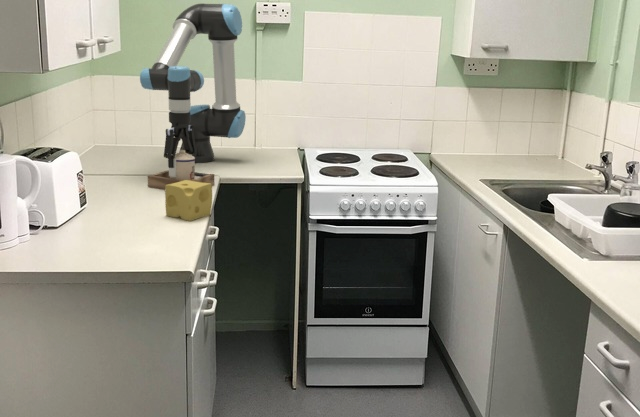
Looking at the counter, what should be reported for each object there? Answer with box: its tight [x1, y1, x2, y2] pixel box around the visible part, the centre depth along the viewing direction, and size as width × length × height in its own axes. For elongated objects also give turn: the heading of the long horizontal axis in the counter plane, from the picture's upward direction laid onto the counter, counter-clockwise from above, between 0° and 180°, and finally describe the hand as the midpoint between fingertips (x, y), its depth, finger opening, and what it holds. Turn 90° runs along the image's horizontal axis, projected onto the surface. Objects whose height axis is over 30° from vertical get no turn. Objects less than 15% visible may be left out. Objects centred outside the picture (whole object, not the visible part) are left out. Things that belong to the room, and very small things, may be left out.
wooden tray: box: [147, 169, 215, 191], centre depth 252 cm, size 15×18×4 cm
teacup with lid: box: [170, 149, 196, 180], centre depth 251 cm, size 12×9×12 cm
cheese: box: [164, 180, 213, 222], centre depth 214 cm, size 10×11×10 cm
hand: (180, 174), depth 251 cm, fingers closed on teacup with lid, 9 cm apart
